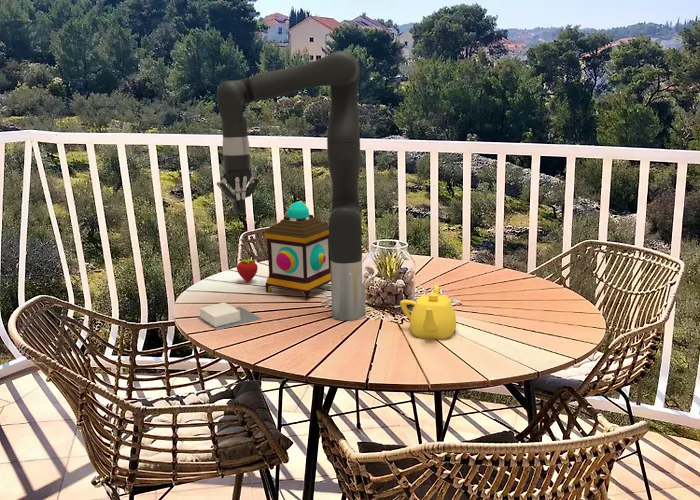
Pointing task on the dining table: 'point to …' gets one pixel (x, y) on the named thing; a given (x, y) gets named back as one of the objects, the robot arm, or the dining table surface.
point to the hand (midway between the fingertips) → (240, 212)
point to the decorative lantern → (298, 252)
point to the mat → (244, 318)
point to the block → (220, 314)
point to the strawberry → (247, 269)
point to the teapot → (431, 316)
